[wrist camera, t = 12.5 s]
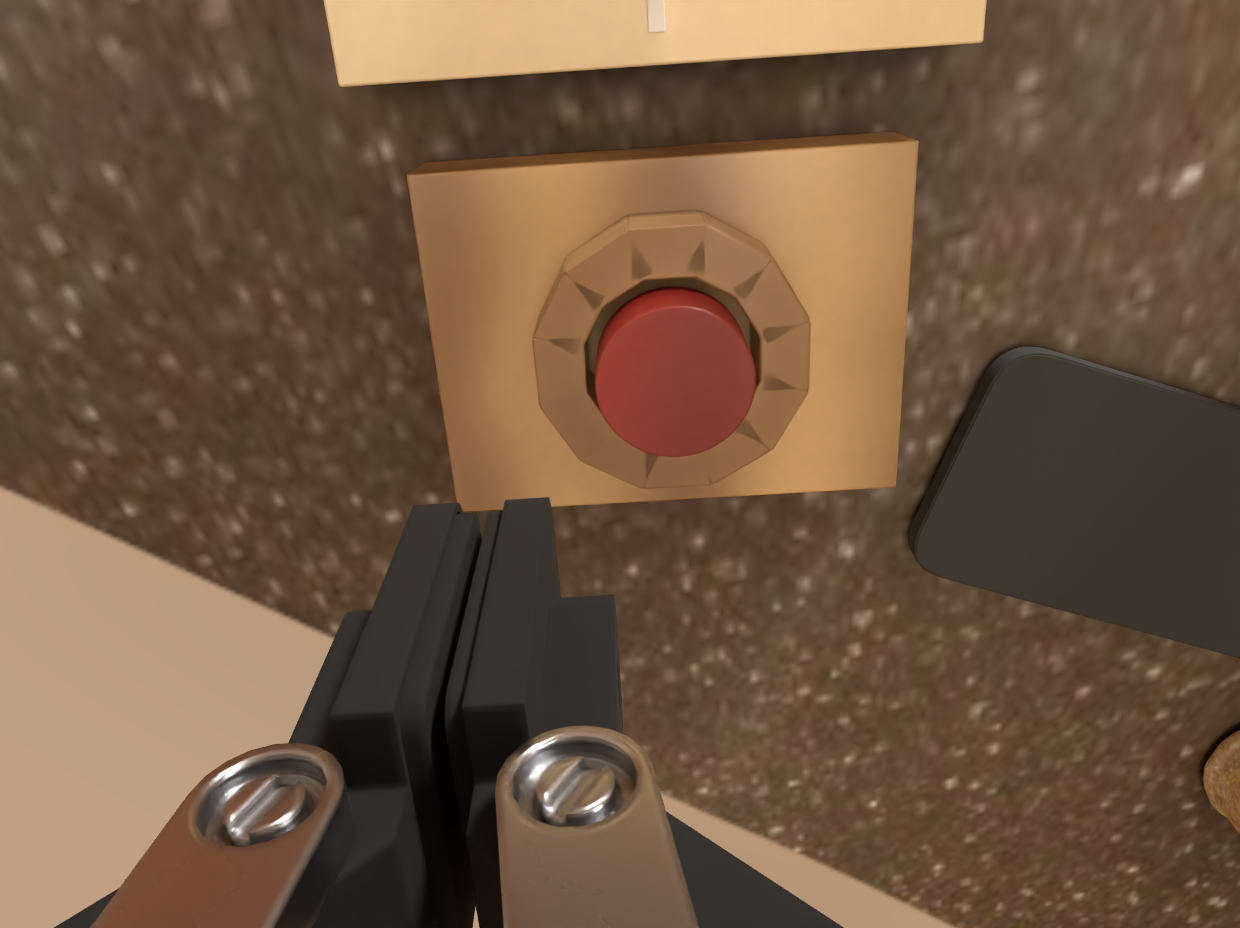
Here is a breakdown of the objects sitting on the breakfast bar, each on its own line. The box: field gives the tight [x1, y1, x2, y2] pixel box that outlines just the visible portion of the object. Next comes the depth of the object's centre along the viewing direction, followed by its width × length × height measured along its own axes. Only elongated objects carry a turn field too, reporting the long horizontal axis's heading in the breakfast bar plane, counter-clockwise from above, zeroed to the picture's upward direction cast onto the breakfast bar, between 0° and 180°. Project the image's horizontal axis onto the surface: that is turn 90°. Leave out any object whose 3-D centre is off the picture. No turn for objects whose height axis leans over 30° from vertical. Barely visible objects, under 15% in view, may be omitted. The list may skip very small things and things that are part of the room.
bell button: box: [595, 286, 756, 457], centre depth 22 cm, size 4×4×2 cm
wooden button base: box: [407, 131, 919, 512], centre depth 24 cm, size 12×9×4 cm
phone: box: [909, 347, 1240, 658], centre depth 28 cm, size 7×1×15 cm
